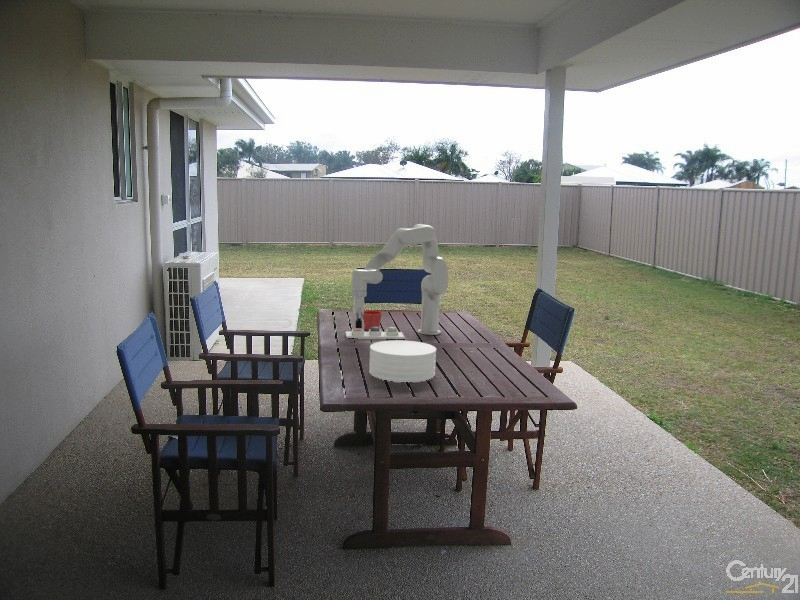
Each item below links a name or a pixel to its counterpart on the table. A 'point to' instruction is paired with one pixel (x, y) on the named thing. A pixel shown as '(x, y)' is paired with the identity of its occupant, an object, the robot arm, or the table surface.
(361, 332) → the button board
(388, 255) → the robot arm
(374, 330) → the charcoal button
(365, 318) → the flower pot
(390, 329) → the sage button
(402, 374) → the plate stack
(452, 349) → the table surface
